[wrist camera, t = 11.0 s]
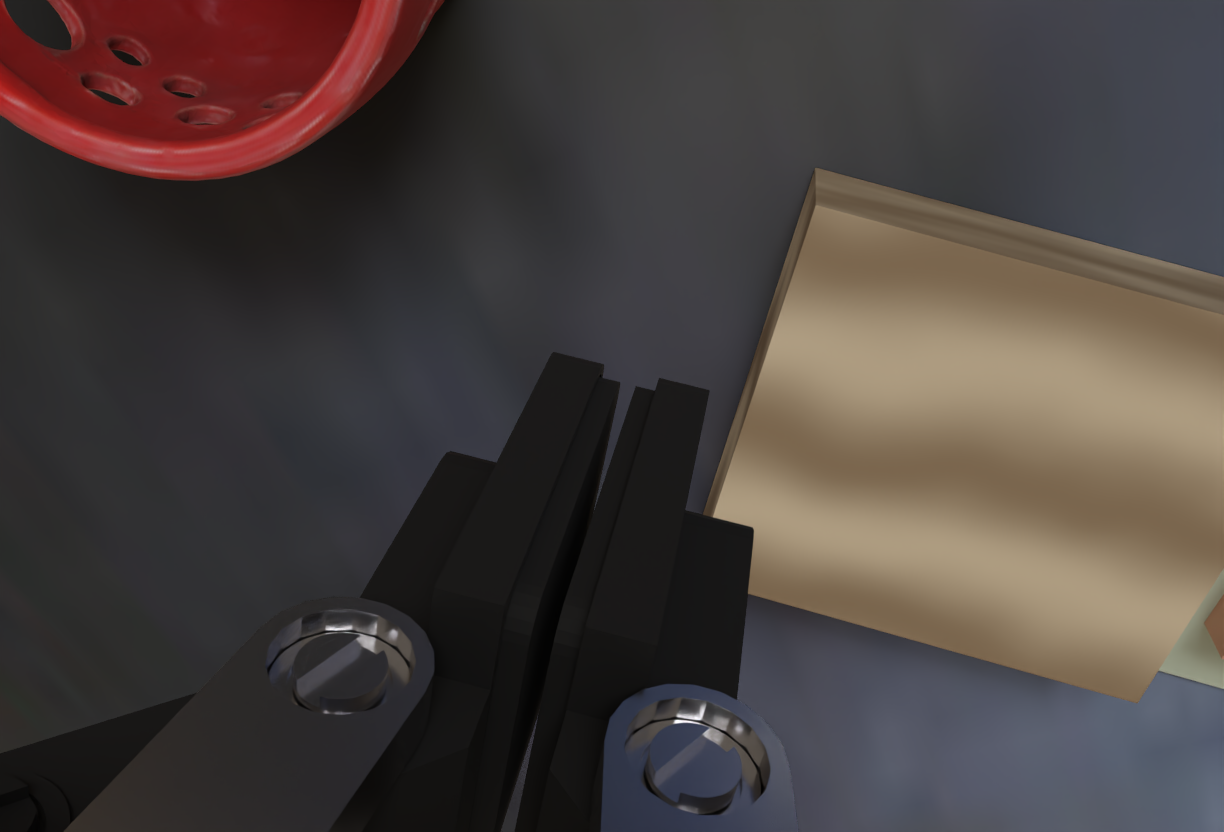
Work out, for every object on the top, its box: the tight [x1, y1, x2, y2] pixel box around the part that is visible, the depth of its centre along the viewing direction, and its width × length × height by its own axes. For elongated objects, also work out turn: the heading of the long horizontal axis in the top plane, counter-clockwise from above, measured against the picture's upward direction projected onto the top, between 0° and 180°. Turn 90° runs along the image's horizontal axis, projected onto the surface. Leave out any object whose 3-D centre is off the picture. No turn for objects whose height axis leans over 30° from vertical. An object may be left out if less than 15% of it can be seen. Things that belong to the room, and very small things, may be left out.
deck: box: [703, 168, 1224, 703], centre depth 36 cm, size 14×16×4 cm
